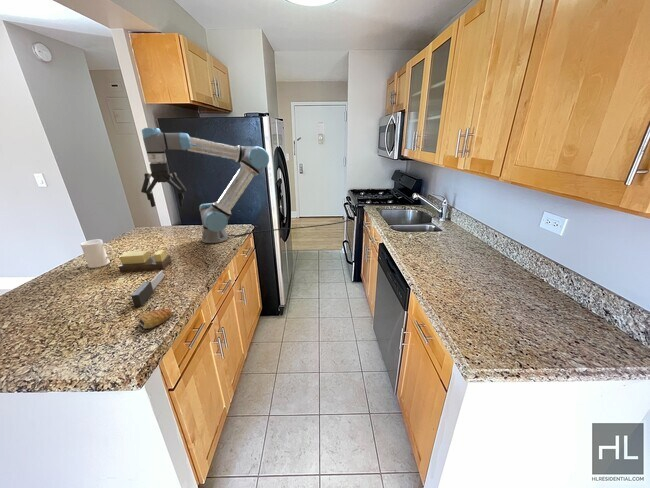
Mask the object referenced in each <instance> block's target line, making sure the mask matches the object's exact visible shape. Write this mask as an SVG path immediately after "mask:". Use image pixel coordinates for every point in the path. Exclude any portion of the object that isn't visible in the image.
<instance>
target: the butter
mask: <svg viewBox="0 0 650 488" xmlns="http://www.w3.org/2000/svg"><path fill="white" fill-rule="evenodd" d="M150 256H151V255H150V252H149V250H133V251H125V252H123V254H121V255H120V256H119V260H120V264H135V263H145V262H146V261H147V260H148V259H150Z"/></svg>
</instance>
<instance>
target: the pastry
mask: <svg viewBox="0 0 650 488" xmlns="http://www.w3.org/2000/svg"><path fill="white" fill-rule="evenodd" d="M172 315H173V313H172V310H171V309H170V308H160V309H155V310H150V311H148V312H145V313H143V315H140V316H139V317H138V323H139V325H140V327H142V328H143V329H147V330H148V329H152V328H155V327H157V326H159V325H161V324H162V323H165V322H166V321H167V320H169V319H170V318H171V316H172Z"/></svg>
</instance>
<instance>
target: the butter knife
mask: <svg viewBox="0 0 650 488" xmlns="http://www.w3.org/2000/svg"><path fill="white" fill-rule="evenodd" d="M164 278H165V275H164V271H163V269H160V271H159V272H158V273H157V274H156V275H155V276H154V277H153V279H151V281H143V283H141V285H139V286H138V287H137V288H136V290H134V292H133V293H131V295H130V297H131V300H132V303H133V306H134V308H135V307H136V308H138V307H143V305H144V304H146V302H147V301H148V300H149V298H150V297H151V296H152V295H153V294H154V292H155V291H154V289H156V288H157V286H159V284H160V283H161V282H162V280H164Z"/></svg>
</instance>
